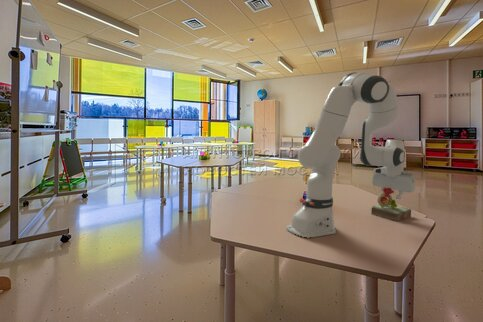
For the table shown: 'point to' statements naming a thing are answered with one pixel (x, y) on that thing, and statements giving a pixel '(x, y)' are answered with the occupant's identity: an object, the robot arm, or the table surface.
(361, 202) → the table surface
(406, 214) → the sage green square tile
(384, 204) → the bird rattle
